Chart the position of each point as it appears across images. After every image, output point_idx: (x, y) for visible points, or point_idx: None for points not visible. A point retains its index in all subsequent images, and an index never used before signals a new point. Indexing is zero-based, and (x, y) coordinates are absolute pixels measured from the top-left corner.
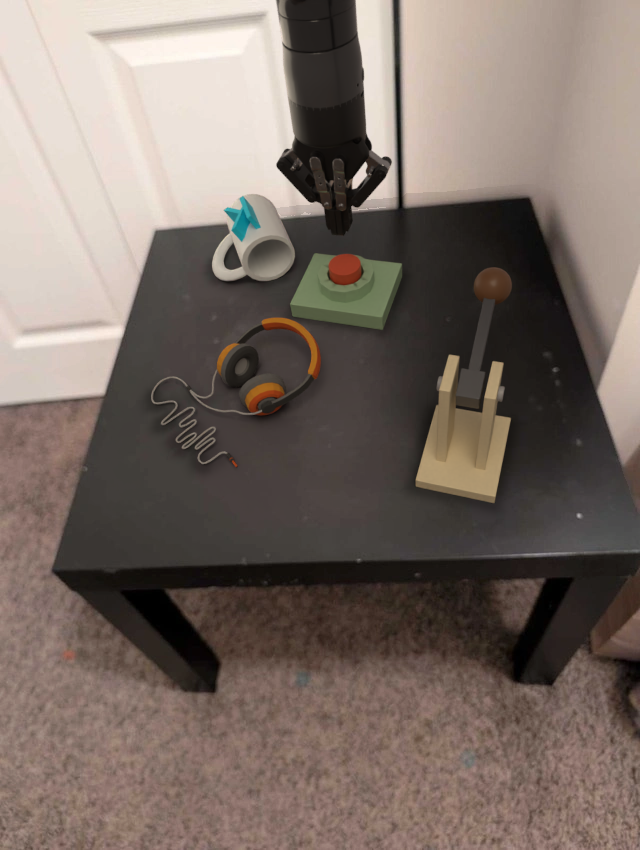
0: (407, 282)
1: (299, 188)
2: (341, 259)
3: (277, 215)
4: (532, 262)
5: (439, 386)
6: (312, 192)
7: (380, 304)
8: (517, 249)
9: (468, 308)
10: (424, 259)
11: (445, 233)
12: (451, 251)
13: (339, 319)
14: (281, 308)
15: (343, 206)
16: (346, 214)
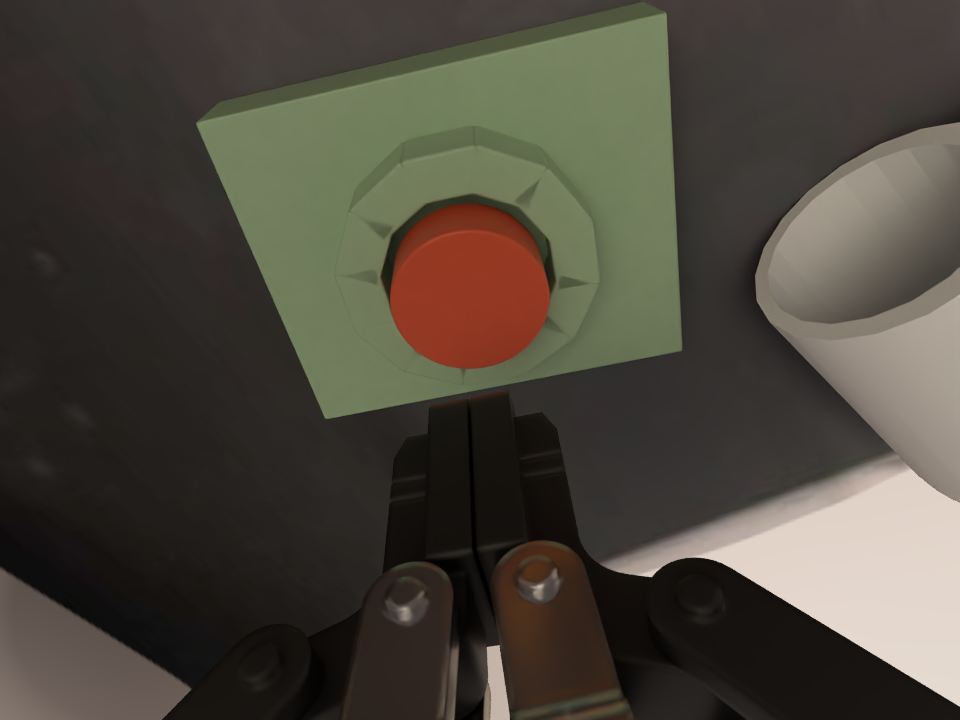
0: (301, 364)
1: (858, 678)
2: (500, 325)
3: (912, 450)
4: (23, 555)
5: None
6: (698, 665)
7: (256, 195)
8: (98, 579)
9: (28, 336)
10: (315, 467)
11: (325, 566)
12: (261, 518)
13: (409, 62)
14: (718, 32)
15: (388, 603)
16: (397, 543)
